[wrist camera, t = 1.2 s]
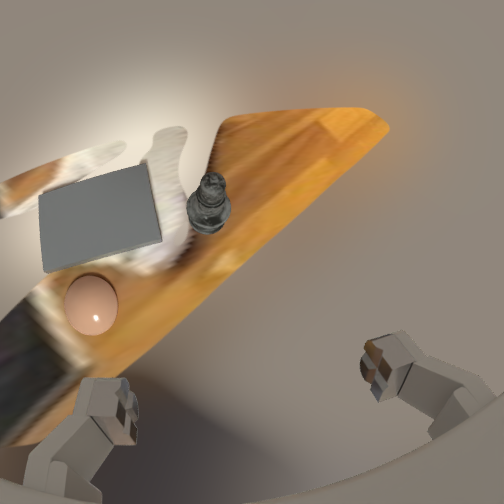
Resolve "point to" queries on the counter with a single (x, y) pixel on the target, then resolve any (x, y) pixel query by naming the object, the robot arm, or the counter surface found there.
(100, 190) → the slate board
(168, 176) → the counter surface
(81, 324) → the peach domed round part
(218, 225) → the black rounded upright piece
